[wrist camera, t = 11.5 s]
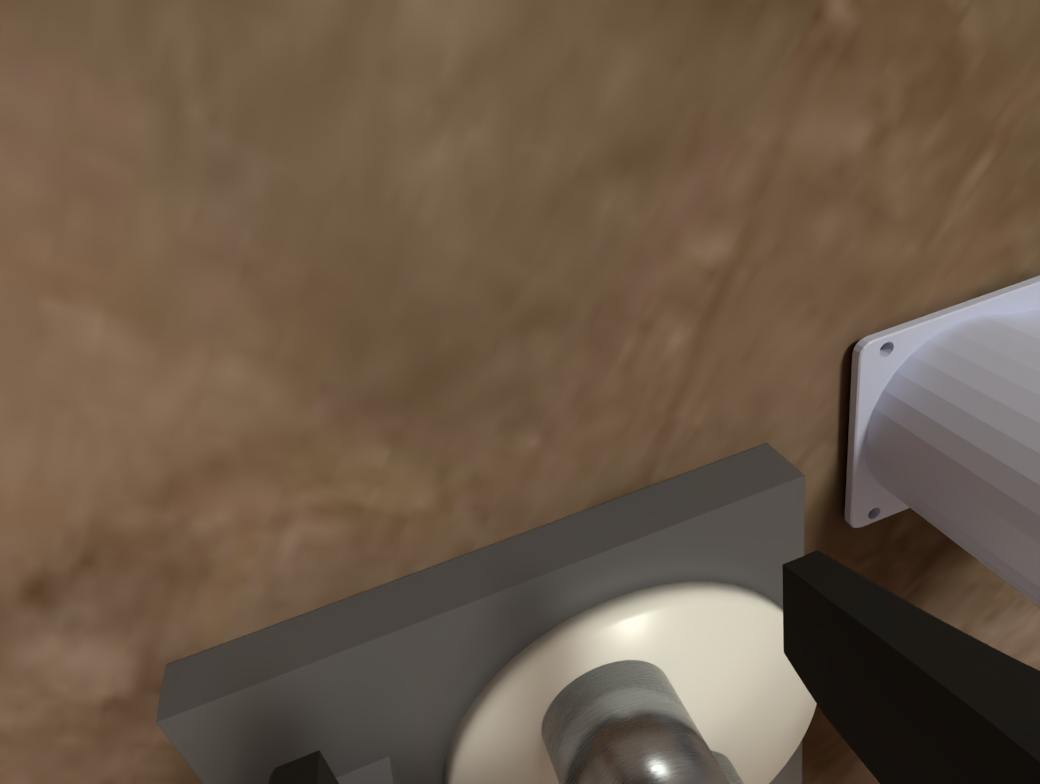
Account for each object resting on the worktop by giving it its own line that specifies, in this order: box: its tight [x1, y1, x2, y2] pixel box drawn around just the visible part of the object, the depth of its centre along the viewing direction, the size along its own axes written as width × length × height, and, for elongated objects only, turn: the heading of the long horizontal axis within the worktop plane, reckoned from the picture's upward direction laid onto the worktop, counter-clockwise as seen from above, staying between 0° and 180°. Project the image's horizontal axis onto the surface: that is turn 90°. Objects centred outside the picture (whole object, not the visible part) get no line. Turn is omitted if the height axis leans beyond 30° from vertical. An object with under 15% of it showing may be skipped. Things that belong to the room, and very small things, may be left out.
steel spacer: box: [541, 660, 730, 784], centre depth 21 cm, size 4×4×4 cm
